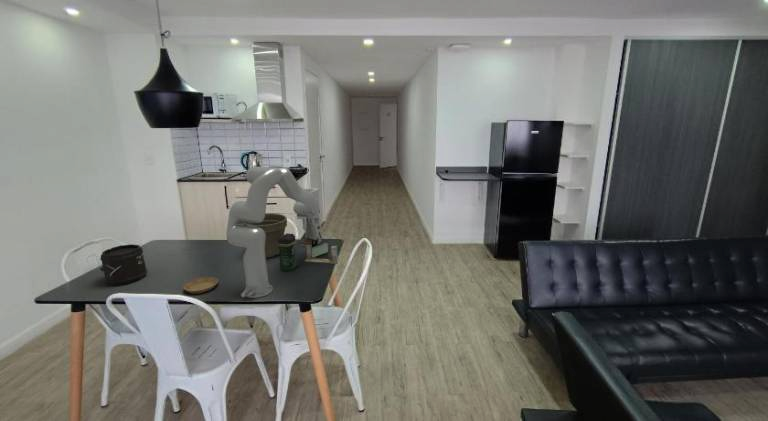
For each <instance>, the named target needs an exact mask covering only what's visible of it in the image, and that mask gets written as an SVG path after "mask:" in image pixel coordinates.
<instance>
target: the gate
mask: <svg viewBox="0 0 768 421" xmlns="http://www.w3.org/2000/svg"><path fill="white" fill-rule="evenodd" d="M328 252H329V246H328V242H323V243H320V244H318V246H315V247H311V258H316V257H318V256H321V255H323V254H326V253H328Z"/></svg>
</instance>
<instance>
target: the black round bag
mask: <svg viewBox="0 0 768 421" xmlns="http://www.w3.org/2000/svg"><path fill="white" fill-rule="evenodd" d="M99 259H100V261H101V265H102V266H101V267H100V268H99V269H100V272H103V275H104V282H105V283H107V284H108V285H109V286H115V287H116V286H125V285H130V284H133V283H136V282H139V281H141V280H143V279H144V278H146V275H147V273H148V270H147V267H146V266H147V265H146V260H145V256H144V250H143V247H142V246H140V244H131V243H130V244H124V245H117V246H114V247H111V248H108V249H106V250H105V249H104V251H102V252H101V254H100V258H99Z"/></svg>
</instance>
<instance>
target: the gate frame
mask: <svg viewBox="0 0 768 421" xmlns="http://www.w3.org/2000/svg"><path fill="white" fill-rule="evenodd" d="M311 248H312V247H311V245H309V244H308V245H306V246H305V249H306V259H304V262H311V263H320V264H329V265H330V264H331V265H337V264H338V263H339V262H340V260H338V245H331V247H330V252H329V253H328V254H327V255H328V259H327V258H318V257H317V258H316V257H313V258H312V257H311Z"/></svg>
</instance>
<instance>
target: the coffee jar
mask: <svg viewBox="0 0 768 421" xmlns="http://www.w3.org/2000/svg"><path fill="white" fill-rule="evenodd" d="M296 240H297V239H296V235H295V234H294V233H284V235H283V236H281V237H280V238H278V245H279V269H280V270H281V271H284V272H285V271H286V272H287V271H292V270H294V269H295V268H296V267H298V259H297V251H296V250H297V247H296Z"/></svg>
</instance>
